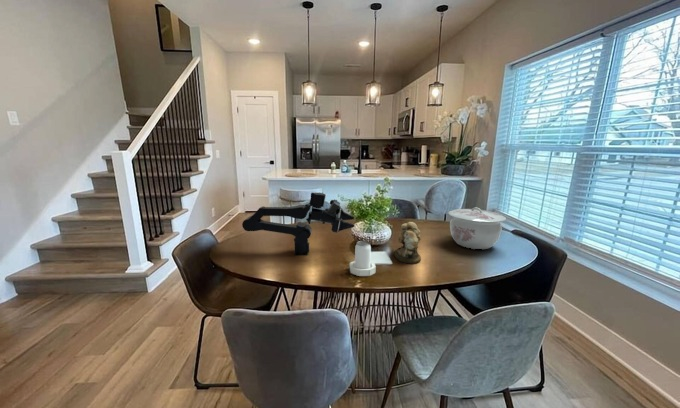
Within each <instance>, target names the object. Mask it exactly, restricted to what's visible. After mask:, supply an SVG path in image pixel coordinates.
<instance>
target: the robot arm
mask: <svg viewBox="0 0 680 408" xmlns="http://www.w3.org/2000/svg"><path fill="white" fill-rule="evenodd" d="M325 201H326V194H325V193H323V192H313V191H312V192H311V193H310V200H309V202H307V203H306V204H299V205H292V206H289V207H287V206H286V207H285V206H280V207H279V206H260V207H259V208H258V209H257V210H256V211H255V212H254V213H253V215H250V216H249V217H247V218H246V219H245V220H243V221H242V223H241V225H242V226H241V227H242V229H243V230H244V231H246V232H258V231H265V232H266V231H267V232H272V233H278V234H286V235H291V236H293V237H294V238H293V241H294V253H293V255H295V256H298V255H299V256H302V255H303V256H304V255H305V256H307V255H308V254H309V253H310V242H309V238H310V237H311V235H312V231H313V229H312V227H311V223H312V221H316V222H321V223H322V224H323V225H325V224H330V226H331V232H333V233H335V234H337V233H338V232H341V231H344V230H348V229H352V228H354V227H355V224H353V223H350V222H347V221H351V220H355V216H353V215H351V214H349V213H347V212H345V211H344V210H343V208H342V206H341V202H339V201H338V200H337V199H330V202H329V204H330V206H329V208H325V209H322V208H323V207H324V205H325ZM310 210H311V211H310ZM307 215H308V217H307ZM263 217H290V218H293V219H297V220H303V219H305V220H306V222H300V221H298V222H297V224H294V225H293V224H286V223H279V222H273V221H268V220H264V219H263ZM307 223H308V224H307Z"/></svg>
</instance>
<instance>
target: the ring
mask: <svg viewBox="0 0 680 408" xmlns="http://www.w3.org/2000/svg"><path fill="white" fill-rule="evenodd" d="M376 268H377V266H376V265H375V264H374V263H373V262H370V268H369V269H358V268H356V267H355V260H354V261H351V262H349V272H350V274H352V275H356V276H357V277H358V276H359V277H369V276H370V277H371V276H372V275H374V274H376V271H377V269H376Z"/></svg>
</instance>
